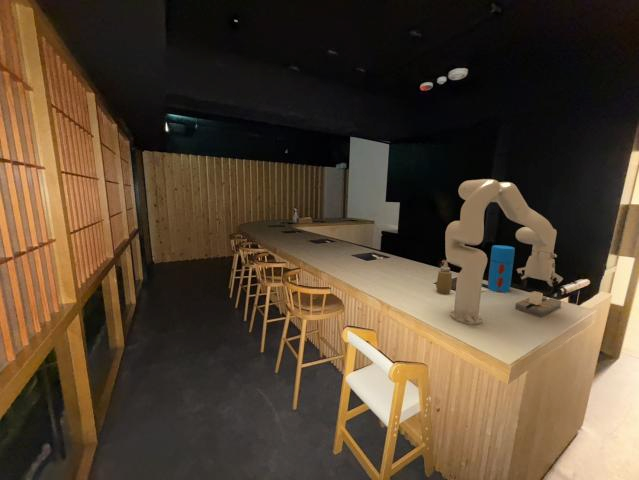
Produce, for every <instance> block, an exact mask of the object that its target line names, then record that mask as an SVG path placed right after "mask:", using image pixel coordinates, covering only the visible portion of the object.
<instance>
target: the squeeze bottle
mask: <svg viewBox="0 0 639 480" xmlns="http://www.w3.org/2000/svg"><path fill="white" fill-rule="evenodd" d="M452 277H453V276H452V272H451V267H449V264H448V260H444V263H443V265H442V266H440V270H439V271H438V273H437V279H436V284H435V286H436V287H435V288H436V291H437V292H438V293H439V294H441V295H442V294H443V295H448V294H450V293H451V290H452V288H453V286H452V284H453V282H452V281H453V280H452Z"/></svg>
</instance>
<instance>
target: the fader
mask: <svg viewBox="0 0 639 480" xmlns="http://www.w3.org/2000/svg"><path fill="white" fill-rule="evenodd" d="M529 294H530V295H529V298H530V299H529V303H532V304H533V306H535V305H539V304H541V303H542V296H543V295H544V294H543V293H542V292H540V291H535V290H534V291H531V292H530V293H529Z"/></svg>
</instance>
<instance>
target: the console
mask: <svg viewBox="0 0 639 480" xmlns="http://www.w3.org/2000/svg"><path fill="white" fill-rule="evenodd" d="M529 299H530V297H528V298H525V299H523V300H520V301H518V302H516V303H515V305H514V306H515V308H514V309H515V310H517V311H519V312H523V313H526V314H529V315H532V316H535V317H539V318H542V317H544V316H546V315H547V314H549V313H551V312H554V311H555V310H558V309H559V308H561V305H562V301H561V300H558V299H555V298H548V299H547V296H542V303H541V304H539V305H535V306H533V304H532V303H529Z"/></svg>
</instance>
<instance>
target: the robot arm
mask: <svg viewBox="0 0 639 480" xmlns="http://www.w3.org/2000/svg"><path fill="white" fill-rule="evenodd" d="M458 195H459V197H460V198H461V199H462V200H464V203H463V204H462V206H461V208H460V214H459V215H460V216H459V217H460V218H459V219H460V220H454V221H452V222H450V223H449V224H448V225H447V227H446V229H445V233H444V234H445V237H444V238H445V239H444V240H445V243H444V245H445V247H444V248H445V257H446V261H447V262H449V264H451V265H453V266H456V267H459V268H461V270H460V271H459V273H458V275H457V277H456V286H455V299H454V305H453V306H454V309H453V310H451V311H450V312H449V316H450V318H451V319H452V320H454V321H456V322H459V323H461V324H466V325H480V324H482V323H483V317H482V316H481V315H480V306H481V297H482V296H481V295H482V287H483V278H484V273H485V270H486V268H487V264H488V257H487V254H486V253H485V252H484V251H483V250H481V249H479V248H475V247H471V246H478V245H481V243H482V242H483V240H484V232H485V231H484V230H485V227H484V226H485V225H484V223H485V221H484V220H485V211H486V209H487V207H488V205H489V204H490V203H497V204H498V206H499V207H500V209H501V211H503V214H504V215H505V216H506V218H507V219H509V220H510V221H512V222H514V223H517V224H519V225H523V226H524V227H523V226H522V227H520V228H519V229H517V230H516V232H515V239H516V240H517V241H518V242H520V243H523V244H527V245H532V248H531V255H529V256H528V259H527V261H526V264H525V266H524V267H519V268H516V271H517V274H518V276H519V277H520V279H521V283H520V285H521V288H522V289H523V288H527V284H528V278H532V279H535V280H536V279H537V280H539V281H541V280H542V281H545V282H546V283H547V284H548V285H547V286H546V292H545V293H546V295H551V294H553V291H554V286H556V285H558V284H560V283H561V282H562V281H563V280H564V278H563V276H560V275H559V274H557V273H556V269H555V268H556V264H555V263H556V262H555V259H554V258H557V257H558V255H557V254H556V253H555V252H554V250H555V244H556V239H557V233H558V232H557V229H555V228H554V227H553V226H552V223H550V221H549V220H548V219H547V218H545V217H544V216H543V215H542V214H540V213H538V212H537V211H535V210H534V209H532V208H531V207H529V205H528V203H527V202H526V200H525V199H524V197H523V195H522V194H521V192H520V190H519V189H518V187H517V186H516V184H514V183H513V182H509V181H501V182H500V181H498V180H497V179H492V178H487V179H486V178H481V179H471V180H465V181H463V182H462V183H461V184H460V185H459V187H458ZM468 245H469V246H468ZM522 271H524V273H523V272H522ZM554 279H556V280H555V281H554Z"/></svg>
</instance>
